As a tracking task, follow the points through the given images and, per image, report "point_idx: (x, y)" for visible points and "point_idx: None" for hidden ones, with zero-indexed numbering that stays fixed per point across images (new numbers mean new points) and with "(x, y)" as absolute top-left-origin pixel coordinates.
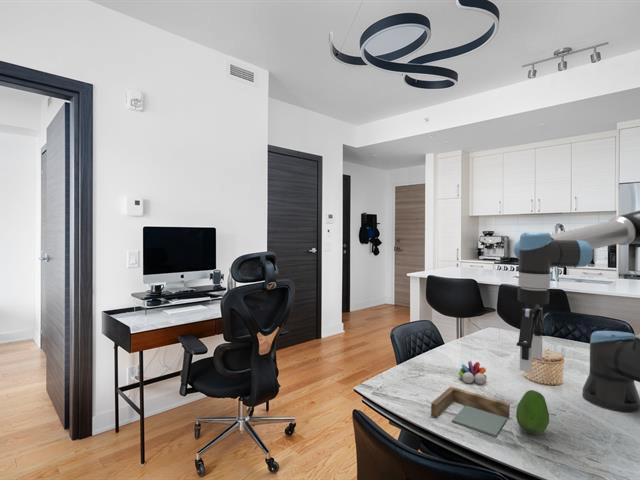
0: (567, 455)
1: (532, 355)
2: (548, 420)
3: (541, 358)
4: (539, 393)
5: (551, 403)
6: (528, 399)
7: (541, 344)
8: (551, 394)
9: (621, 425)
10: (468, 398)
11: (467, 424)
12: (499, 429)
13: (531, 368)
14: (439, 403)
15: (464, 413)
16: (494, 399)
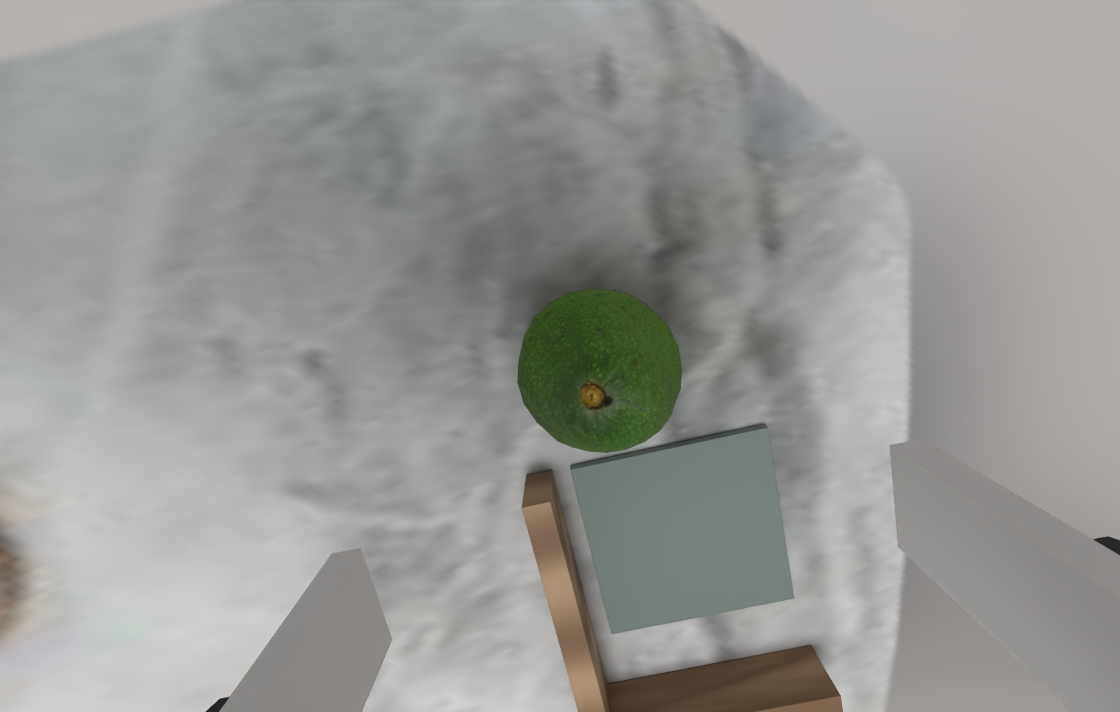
0: (662, 167)
1: (378, 643)
2: (585, 292)
3: (344, 555)
4: (605, 374)
5: (197, 415)
6: (667, 403)
7: (263, 702)
8: (86, 457)
9: (113, 96)
10: (594, 654)
11: (777, 542)
12: (705, 441)
13: (928, 461)
14: (799, 696)
15: (691, 598)
16: (545, 572)
